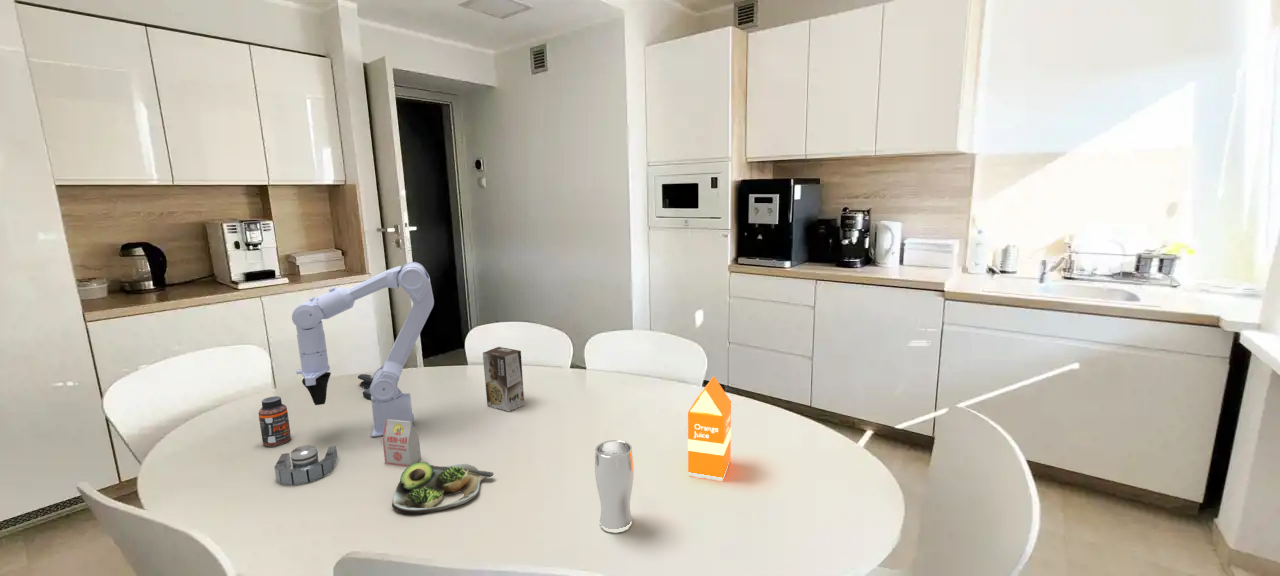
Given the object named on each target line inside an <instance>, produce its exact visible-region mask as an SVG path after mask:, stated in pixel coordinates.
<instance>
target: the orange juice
mask: <svg viewBox="0 0 1280 576" xmlns="http://www.w3.org/2000/svg"><path fill="white" fill-rule="evenodd" d="M731 439H732V400H731V399H730V397H729V396H728V395H727V393H726V392H725V390H724V389H723V387H722V386H721V384H720V383H719V381H718V380H717V378H716V377H715V376H713V377H712V378H711V379H710V380H709V382H708V383H706V385H705V387H704V388H703V390H702V391H701V392H700V393H699V395H697V397H696V398H695V400H694V402H693V403H692V404H691V407H690V408H689V409H688V411H687V455H688V456H687V465H688V466H687V467H688V468H687V469H688V471H687V473H688V472H691V473H697V474H704V475H710V476H716V477H722V478H723V477H724V474H725V471H726V469H727V466H728V463H729V461H730V462H731V449H732V447H731V445H732V444H731V443H732V442H731V441H732V440H731Z"/></svg>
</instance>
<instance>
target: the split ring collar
mask: <svg viewBox="0 0 1280 576" xmlns="http://www.w3.org/2000/svg"><path fill="white" fill-rule="evenodd" d="M338 458H339V457H338V448H337V445H331V446H328V449H327V451H326V453H325V456H324V458H323V459H321V460H319V462H318V463H316V464H314V465H311V466H308V467H304V468H298V469H293V468H291V466H292V460H291V453H290V452H286V453H281V454H280V456H279V459H278V460H277V462H276V464H275V465H274V473H275V474H274V475H275V479H276V480H277V482H278V484H280V485H282V486H291V485H293V486H299V485H298V484H300V485H303V483H306V484H309V483H312V481H313V482H315V481H318V480H320V479H323V478H324V477H323V476H325V477H326V476H328V475H329V474H330V473H332V472H333V471H335V466H336V464H337V461H338ZM328 473H329V474H328ZM327 474H328V475H327ZM322 477H323V478H322ZM319 478H320V479H319ZM317 479H318V480H317ZM276 480H275V481H276ZM314 480H315V481H314Z"/></svg>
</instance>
